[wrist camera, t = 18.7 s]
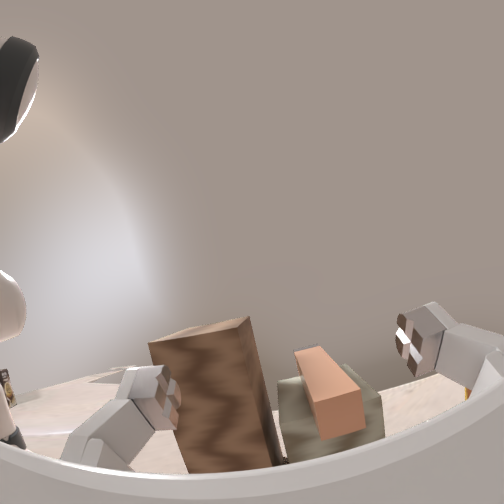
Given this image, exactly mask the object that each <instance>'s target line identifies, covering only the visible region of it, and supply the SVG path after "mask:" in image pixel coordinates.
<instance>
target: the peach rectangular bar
mask: <svg viewBox="0 0 504 504" xmlns="http://www.w3.org/2000/svg"><path fill="white" fill-rule="evenodd" d="M293 351H294V356H295V360H296V365H297V369H298V374H299V376H300V379H301V382H302V385H303V388H304V391H305V394H306V397H307V400H308V403H309V406H310V409H311V412H312V415H313V418H314V421H315V424H316V427H317V430H318V433H319V435H320V438H321V441H323V440H327V439H331V438H335V437H338V436H342V435H345V434H348V433H352V432H355V431H358V430H361V429H364V428H366V423H365V416H364V408H363V401H362V394H361V389H360V388H359V387H358V386H357V385H356V383H355V382H354V381H353V380H352V379H351V378H350V377H349V376H348V375H347V374H346V373H345V372H344V371H343V370H342V369H341V368H340V367H339V366H338V365H337V364H336V363H335V362H334V361H333V360H332V358H331V357H330V356H329V355H328V354H327V353H326V352H325V351H324V350H323V349H322V348H321V347H320V346H319V345H318V344H315V345H311V346H307V347H302V348H298V349H294V350H293Z"/></svg>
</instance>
